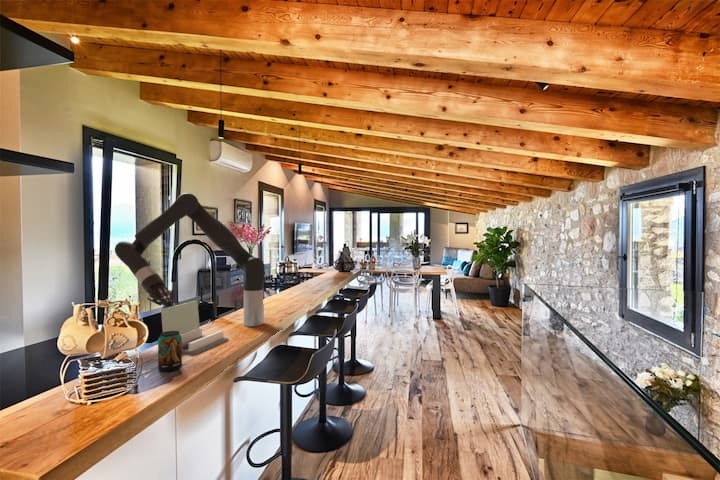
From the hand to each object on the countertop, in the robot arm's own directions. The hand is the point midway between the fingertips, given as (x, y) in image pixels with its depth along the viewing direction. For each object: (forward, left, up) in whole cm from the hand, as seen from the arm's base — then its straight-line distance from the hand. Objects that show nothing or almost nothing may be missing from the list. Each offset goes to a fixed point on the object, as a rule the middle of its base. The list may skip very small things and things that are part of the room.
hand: (173, 310), depth 155 cm
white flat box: (0, +11, -13) cm, 17 cm away
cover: (0, +4, -3) cm, 5 cm away
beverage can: (+24, +21, -14) cm, 35 cm away
